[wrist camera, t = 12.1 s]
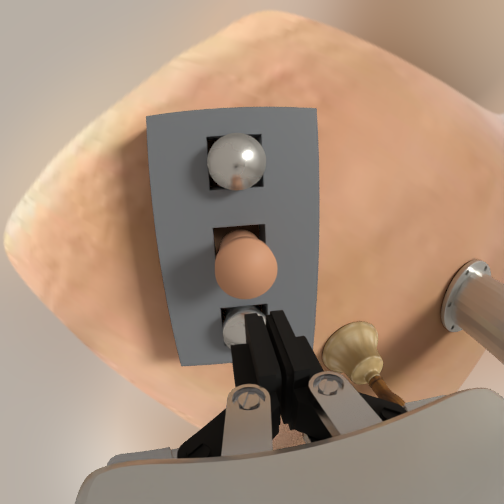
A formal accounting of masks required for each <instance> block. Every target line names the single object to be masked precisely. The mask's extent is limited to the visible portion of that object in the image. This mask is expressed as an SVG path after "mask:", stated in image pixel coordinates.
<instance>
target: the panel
mask: <svg viewBox="0 0 504 504" xmlns="http://www.w3.org/2000/svg"><path fill="white" fill-rule="evenodd" d="M146 124H147V146H148V161H149V175H150V186H151V196H152V206H153V215H154V223H155V231H156V238H157V245H158V252H159V259H160V265H161V271H162V277H163V283H164V288H165V294H166V299H167V304H168V309H169V314H170V319H171V324H172V328H173V333H174V338H175V342H176V346H177V350H178V355H179V359H180V363H181V366H196V365H211V364H223V363H232V355H231V349H230V348H229V347H228V346H227V345H226V344H225V342H224V339H223V321H222V312H221V308H228V307H238V306H249V305H258V304H262V313H263V314H264V315H265V316H266V315H270V311H276V310H283V311H284V313H285V315H286V317H287V319H288V321H289V324H290V326H291V328H292V330H293V332H294V334H295V336H296V337H298V336H305V337H306V338H307V340H308V342H309V344H310V346H311V348H312V350H313V343H314V330H315V317H316V301H317V283H318V258H319V151H318V127H317V109H316V108H297V107H237V108H217V109H204V110H192V111H183V112H174V113H166V114H159V115H152V116H146ZM231 133H243V134H247V135H249V136H251V137H253V138H255V139H256V140H257V141H258V142H259V143H260V145H261V146H262V148H263V150H264V152H265V156H266V167H265V171H264V173H263V175H262V177H261V178H260V180H259V181H258V182H257V183H256V184H254V185H253V186H251V187H250V188H247V189H244V190H229V189H226V188H223V187H222V186H210V175H209V170H208V165H207V159H208V140H218V139H219V138H221V137H223V136H225V135H227V134H231ZM257 224H258V225H259V240H261V241H263V242H264V243H265V244H266V245H267V246H268V247H269V248H270V250H271V251H272V253H273V255H274V257H275V259H276V262H277V268H278V269H277V276H276V279H275V281H274V283H273V285H272V286H271V287H270V289H269V290H268V291H267V292H265V293H264V294H262V295H260V296H258V297H256V298H252V299H238V298H234V297H232V296H230V295H228V294H226V293H225V292H224V291H223V290H222V289H221V288H220V286H219V285H218V283H217V280H216V277H215V259H216V252H215V241H214V229H213V228H218V227H231V226H243V225H257Z"/></svg>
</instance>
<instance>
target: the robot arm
mask: <svg viewBox="0 0 504 504" xmlns="http://www.w3.org/2000/svg"><path fill="white" fill-rule="evenodd" d="M265 319H266V325H265V322H264V319H263V316H258V314H257V313H250V314H244V320H245V334H246V344H236V345H230V346H231V355H232V363H233V371H234V379H235V386H236V388H234V389H233V390H232V391H231V392H230V393H229V395H228V398H227V406H226V409H225V410H223V411H222V412H221V413H220V414H219V415H218V416H216V417H215V418H214V419H213V420H212V421H210V422H209V423H208V424H207V425H206V426H204V427H203V428H202V429H201V430H200V431H198V432H197V433H196V434H194V435H193V436H192V437H191V438H189V439H188V440H187V441H185V442H184V443H183V444H182V445H181V446H180V448H177V449H172V450H171V449H170V447H168V448H163V449H157V450H150V451H144V452H135V453H127V454H120V455H116V456H114V457H113V458H111V459H110V461H109V462H108V464H107V466H105V467H102V468H100V469H97V470H95V471H94V472H92V473H91V474H89V475H88V476H87V478H86V479H85V480H84V482H83V484H82V485H81V487H80V490H79V492H78V495H77V498H76V502H75V504H504V398H503V397H502V396H500V395H499V394H498V393H496V392H495V391H493V390H491V389H487V388H473V389H466V390H462V391H458V392H455V393H452V394H449V395H442V396H437V397H433V398H429V399H424V400H419V401H414V402H408V403H405V404H404V406H401V405H399V404H397V403H394V402H390V401H386V400H383V399H379V398H376V397H372V396H369V395H366V394H362V393H359V392H357V391H356V390H355V388H354V387H353V386H352V385H351V384H350V382H349V381H348V380H347V379H346V378H345V377H344V376H343V375H341V374H339V373H337V372H332V371H323V369H322V367H321V365H320V363H319V361H318V359H317V357H316V356H315V354H314V352H313V350H312V348H311V346H310V344H309V342H308V340H307V338H306V337H305V336H298V337H296V336H295V334H294V332H293V330H292V328H291V326H290V324H289V321H288V319H287V317H286V315H285V313H284V311H283V310H276V311H270V315H266V317H265ZM441 319H442V323H443V325H444V327H445V328H446V329H448V330H449V331H451V332H458V331H460V330H464V331H465V332H466V333H468V334H469V335H470V336H471V337H472V338H474V339H475V340H476V341H477V342H478V343H480V344H481V345H482V346H483V347H484V348H485V349H487V350H488V351H489V352H490V353H491V354H492V355H494V356H495V357H496V358H497V359H498V360H499V361H500V362H501V363H503V364H504V284H503V283H502V282H500V281H498V280H496V279H495V278H493V277H491V272H490V268H489V266H488V264H487V263H486V262H484V261H482V260H478V259H476V260H472V261H470V262H468V263H467V264H466V265H464V266H463V267H462V268H461V269H460V270H459V272H458V273H457V274H456V275H455V277H454V278H453V280H452V282H451V283H450V285H449V287H448V289H447V292H446V294H445V297H444V300H443V304H442V310H441ZM280 417H282V420H283V423H284V424H287V423H288V424H289V428H290V430H294V429H295V430H297V431H299V432H302V436H303V439H304V441H305V442H306V444H303V445H298V446H293V447H288V448H283V449H277V450H273V447H272V440H273V438H274V437H275V436H276V435H277V434H278V433H279V425H280Z"/></svg>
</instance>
